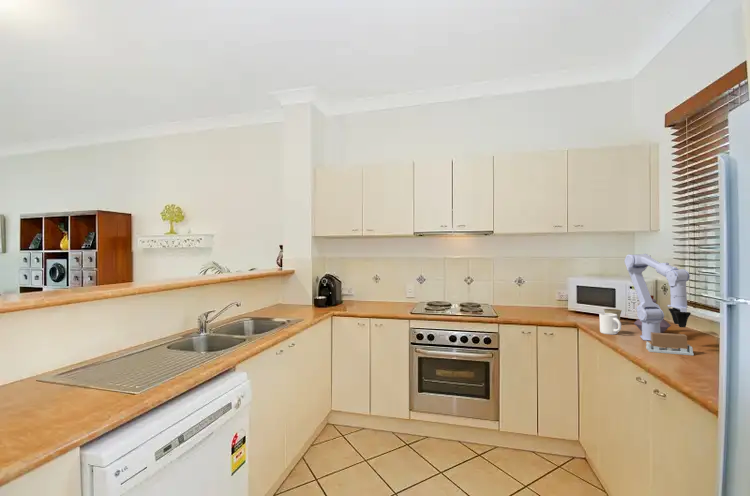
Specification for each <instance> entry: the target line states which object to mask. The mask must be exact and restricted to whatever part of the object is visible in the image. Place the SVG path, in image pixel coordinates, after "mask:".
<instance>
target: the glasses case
mask: <svg viewBox="0 0 750 496" xmlns="http://www.w3.org/2000/svg"><path fill="white" fill-rule="evenodd" d="M650 344H651V345H652V346H656V347H663V348H666V347H669V348H676V349H678V348H682V349H687V344H688V336H687V335H686V334H682V333H667V332H666V333H665V332H663V333H653V332H651V341H650Z"/></svg>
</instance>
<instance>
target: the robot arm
mask: <svg viewBox="0 0 750 496" xmlns="http://www.w3.org/2000/svg"><path fill="white" fill-rule="evenodd" d="M623 261H624V265H625V266H626V270H627V273H628V274H629V277H630V280H631V283H632V286H633V288H634V290H635V291H634V292H635V293H636V295H637V296H636V297H637V299H638V301H639V304H638V305H637V306H636V308H635V309H636V312H637V313H636V314H637V318H638V319H640V321H642V331H641V335H639V337H640V338H641V340H643V341H646V342H651V332H653V333H660V322H661V321H662V320H663V319H664V320H665V313H664V310H662V309H661V307H660V305H659V304H657V302H656V303H654V302H653V301H652V298H651V296H650V295H651V293H650V291H649V289H648V286H647V284H646V281H645V278H644V276H643V272H645V271H646V270H647V268H648V267H650V268H653V269H655V271H656V273H658V274H659V275H661V276H663V277H665V278H666V280H667V282H668V283H667V284H668V286H669V290H670V291H669V292H670V293H669V294H670V298H669V299H670V304H667V307H668V311H669V312H670V315H671V318H672V321H673V324H675V325H678V328H686V326H687V323H688V319H689V317H690V316H691V315H692V314H691V312H690V311H688V308H689V305H688V299H687V298H688V295H687V294H688V293H687V292H688V291H687V282H688V281H689V280H690V277H691V275H690V273H689V272H688V271H687V270H686V269H684V268H683V269H679V268H677V267H676V266H672V265H671V264H670V263H669V262H659V261H658V260H656V259H654V258H653V257H652V256H651V255H649V254H648V253H641V254H626V256H625V258H624V260H623Z"/></svg>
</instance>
